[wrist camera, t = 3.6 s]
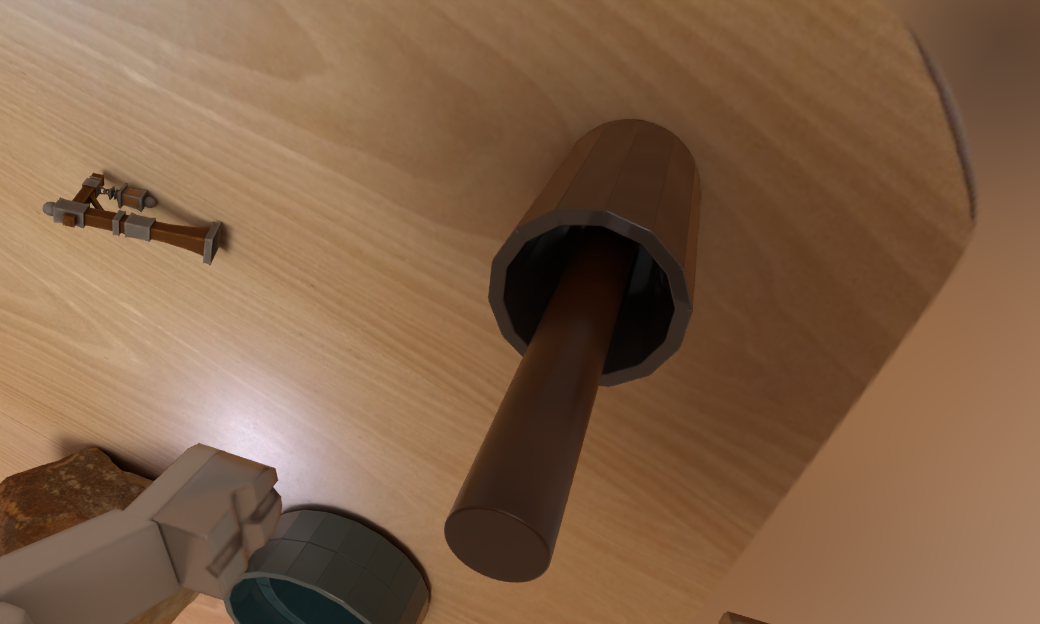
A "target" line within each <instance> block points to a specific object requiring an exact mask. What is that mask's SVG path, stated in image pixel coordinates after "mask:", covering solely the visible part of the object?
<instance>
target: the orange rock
mask: <svg viewBox="0 0 1040 624" xmlns="http://www.w3.org/2000/svg"><path fill="white" fill-rule="evenodd" d="M153 482H154V481H151V480H149V479H146V478H144V477H141V476H139V475H136V474H134V473H130V472H124V471H122V470H121V469H119V468H118V467H117V466H116V465H115V464H113V463H112V462H111V459H110V457H108V456H107V455H105V454H104V453H103V452H102V451H101V450H99V449H98V448H91V449H85V450H80V451H78V452H75V453H73V454H71V455H69V456H67V457H65V458H63V459H61V460H59V461H56V462H52V463H49V464H45V465H42V466H39V467H35V468H32V469H30V470H27V471H24V472H21V473H17V474H14V475H12V476H9V477H7V478H5V479H4V480H3V481H2V483H1V484H0V557H1V556H3V555H6V554H8V553H11V552H13V551H15V550H18V549H20V548H23V547H25V546H27V545H30V544H32V543H35V542H37V541H39V540H42V539H44V538H47V537H49V536H51V535H54V534H56V533H59V532H61V531H63V530H66V529H68V528H71V527H73V526H75V525H78V524H80V523H83V522H85V521H87V520H90V519H92V518H95V517H97V516H99V515H102V514H104V513H107V512H109V511H111V510H114V509H120V510H123V511H124V510H125V509H126V508H127V507H128V506H129V505H130V504H131V503H132V502H133V501H134V500H135V499H136V498H137V497H138V496H139V495H140V494H141V493H142V492H143V491H144V490H146V489H147V488H148V487H149V486H150V485H151V484H152V483H153ZM199 593H200V592H196V591H193V590H190V589H187V588H184V587H181V586H180V590H179V591H177V592H175V593H174V594H172V595H170V596H169V597H167V598H166V599H164V600H162V601H161V602H159V603H158V604H156V605H154V606H153V607H151V608H150V609H148V610H146V611H145V612H143V613H142V614H140V615H138V616H137V617H135V618H133V619H132V620H130V621H129V622H127V623H125V624H171V623H172V622H173V621H174V620H175V619H176V617H177V616H178V615H179V614H180V613H181V612H182V611H183V609H184V608H185V607H186V606H188V605H189V604H190V603H191V602H192V601H193V600H195V599H196V597H197V596H198V595H199Z"/></svg>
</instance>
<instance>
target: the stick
mask: <svg viewBox="0 0 1040 624" xmlns="http://www.w3.org/2000/svg"><path fill="white" fill-rule="evenodd" d="M637 243H638V242H635V241H633V240H631V239H629V238H627V237H625V236H622V235H620V234H618V233H616V232H614V231H611V230H609V229H607V228H605V227H603V226H585V227H584V229H583V232H582V234H581V236H580V238H579V240H578V242H577V244H576V246H575V248H574V251H573V253H572V255H571V257H570V259H569V261H568V263H567V265H566V268H565V270H564V272H563V274H562V276H561V278H560V280H559V282H558V284H557V287H556V289H555V291H554V293H553V295H552V297H551V299H550V301H549V304H548V306H547V308H546V310H545V312H544V314H543V316H542V318H541V320H540V323H539V325H538V327H537V329H536V331H535V333H534V335H533V337H532V339H531V342H530V344H529V346H528V348H527V350H526V352H525V354H524V356H523V359H522V361H521V363H520V365H519V367H518V369H517V371H516V373H515V375H514V378H513V380H512V382H511V384H510V386H509V388H508V390H507V392H506V395H505V397H504V399H503V401H502V403H501V405H500V407H499V409H498V411H497V414H496V416H495V418H494V420H493V422H492V424H491V426H490V428H489V431H488V433H487V435H486V437H485V439H484V441H483V443H482V445H481V447H480V450H479V452H478V454H477V456H476V458H475V460H474V462H473V464H472V467H471V469H470V471H469V473H468V475H467V477H466V479H465V481H464V483H463V486H462V488H461V490H460V492H459V494H458V496H457V498H456V500H455V502H454V505H453V507H452V509H451V511H450V513H449V515H448V517H447V520H446V522H445V527H444V533H445V539H446V541H447V544H448V546H449V547H450V549H451V550H452V552H453V553H454V554H455V555H456V557H457V558H458V559H460V560H461V561H462V562H463V563H464V564H465V565H467V566H468V567H470V568H471V569H473V570H474V571H476V572H478V573H480V574H482V575H484V576H487V577H489V578H492V579H496V580H500V581H505V582H516V583H518V582H527V581H531V580H534V579H536V578H538V577H540V576H541V575H542V574H543V573H544V572H545V571H546V570H547V569H548V567H549V565H550V562H551V559H552V555H553V551H554V548H555V544H556V540H557V537H558V533H559V529H560V526H561V522H562V518H563V515H564V511H565V507H566V504H567V500H568V496H569V493H570V489H571V485H572V481H573V478H574V474H575V470H576V467H577V463H578V459H579V456H580V452H581V448H582V445H583V441H584V437H585V434H586V430H587V426H588V423H589V419H590V415H591V412H592V408H593V404H594V401H595V397H596V393H597V390H598V386H599V382H600V379H601V375H602V371H603V368H604V364H605V360H606V357H607V353H608V349H609V346H610V342H611V338H612V335H613V331H614V327H615V324H616V320H617V316H618V313H619V309H620V305H621V301H622V298H623V294H624V290H625V287H626V283H627V279H628V276H629V272H630V268H631V265H632V261H633V257H634V254H635V250H636V246H637Z"/></svg>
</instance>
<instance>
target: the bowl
mask: <svg viewBox="0 0 1040 624" xmlns="http://www.w3.org/2000/svg"><path fill="white" fill-rule="evenodd" d="M428 598H429V593H428V590H427V588H426V585H425V583H424V580H423V578H422V575H421V574H420V572H419V571H418V570H417V569H416V567H415V566H414V565H413V564H412V563H411V561H410V560H409V559H408V558H407V556H406V555H405V554H404V553H402V552H401V551H400V550H399V549H397V548H396V547H395V546H394V545H393V544H391V543H390V542H389V541H388V540H386V539H385V538H384V537H382V536H381V535H380V534H378V533H376V532H374V531H372V530H370V529H369V528H367V527H365V526H363V525H361V524H360V523H358V522H355V521H353V520H350V519H347V518H344V517H341V516H338V515H335V514H332V513H328V512H321V511H312V510H300V511H295V512H289V513H285V514H283V515H281V516H280V519H279V521H278V523H277V526H276V528H275V530H274V533H273V534H272V535H271V537H270V538H269V540H268V541H267V542H266V544H265V545H264V546H263V547H261V548H259V549H257V550H255V551H253V552H251V553H249V554H248V568H247V569H246V571H245V572H244V573H243V575H242V576H241V577H240V579H239V580H238V581H237V583H236V584H235V585H234V587H233V588H232V589H231V591H230V592H229V593H228V595H227V596H226V597H225V599H224V603H225V607H226V610H227V612H228V614H229V616H230V617H231V619H232V620H233V622H234V623H235V624H422V622H423V620H424V617H425V615H426V613H427V610H428Z"/></svg>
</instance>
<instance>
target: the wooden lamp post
mask: <svg viewBox="0 0 1040 624" xmlns="http://www.w3.org/2000/svg"><path fill="white" fill-rule="evenodd" d="M103 186H104V175H100V174H96V173H93V174H92V176H90V178H87V179H86V180H85V181H84V182H83V184H82V189H81V190H80V191H79V193H78V194H77V195H76V196H75V198H74V199H73V200H72V201H70V200H66V199H63V198H61V197H60V199H59V200H58V201H57V202H56V203H54V202H47V203H45V204H44V205H43V211H44V213H46V214H47V215H50V216H54V222H57V223H63V225H65V226H70V227H75V226H78V227H81V228H84V227H85V225H87V226H92V227H96V228H101V229H105V230H110V231H113V235H118V236H119V235H120V234H121V233H123V234H125V237H132V238H137V239H142V240H145V241H148V242H150V240H151V239H153V240H157V241H161V242H165V243H168V244H171V245H174V246H177V247H180V248H184V249H187V250H190V251H192V252H195V253H197V254H200V255H202V256H203V263H206V264H209V266H210V265H211V263H212V260H213V258H214V256H215V254H216V252H217V250H218V248H219V239H220V229H221V222H220V223H216V222H213V224H212V226H211V228H199V227H189V226H181V225H172V224H166V223H161V222H156V218H148V217H144V216H140V215H136V214H134V213H131V214H130V215H126V211H121V210H119V211H118V213H115V212H110V211H105V210H104V209H103V208H102V206H101V205H100V204H99V202H98V201H97V199H96V198H97V197H98V195H99V194H107V195H108V196H109V199H110V200H111V199H112V197H113V196H114V200H115V199H117V201H118V205H119V208H120V209H121V207H122V206H123V205H124V206H128V207H132V208H135V209H137V210H139V211H140V212H142V211H143V209H144V208H145V206H146V207H148V208H153V207H154V206H155V205H156V200H155V199H154V198H152V197H147V190H137V189H131V188H128V184H127V183H125V185H124V186H123V187H122V188H121V189H120V190H118V188H117V190H116V191H115V188H114V186H113V187H112V188H111V189H105V188H104V187H103ZM101 189H104V191H103V192H104V193H101ZM107 191H108V193H107ZM90 203H92V205H93V206H94V207H95V209H94V208H90Z"/></svg>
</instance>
